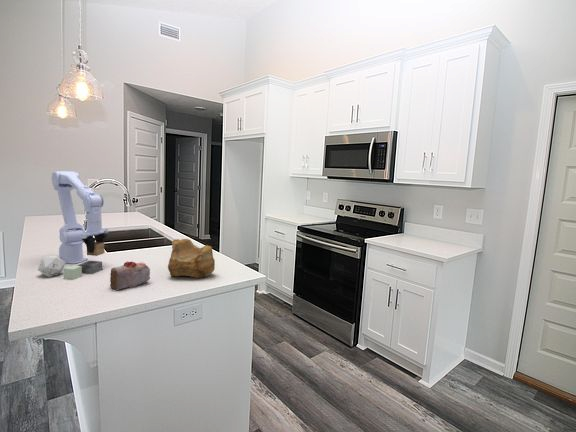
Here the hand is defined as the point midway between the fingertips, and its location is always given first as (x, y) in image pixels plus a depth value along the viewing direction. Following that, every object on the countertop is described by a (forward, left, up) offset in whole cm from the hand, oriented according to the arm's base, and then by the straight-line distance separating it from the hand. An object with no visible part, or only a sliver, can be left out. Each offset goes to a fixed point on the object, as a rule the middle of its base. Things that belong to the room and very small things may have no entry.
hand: (95, 250), depth 148 cm
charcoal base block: (0, -4, -9) cm, 9 cm away
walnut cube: (0, 0, -2) cm, 2 cm away
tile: (-8, 0, -9) cm, 11 cm away
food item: (+27, -15, -9) cm, 32 cm away
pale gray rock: (-11, -12, -9) cm, 19 cm away
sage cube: (-1, -13, -9) cm, 15 cm away
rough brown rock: (+42, +3, -9) cm, 43 cm away
